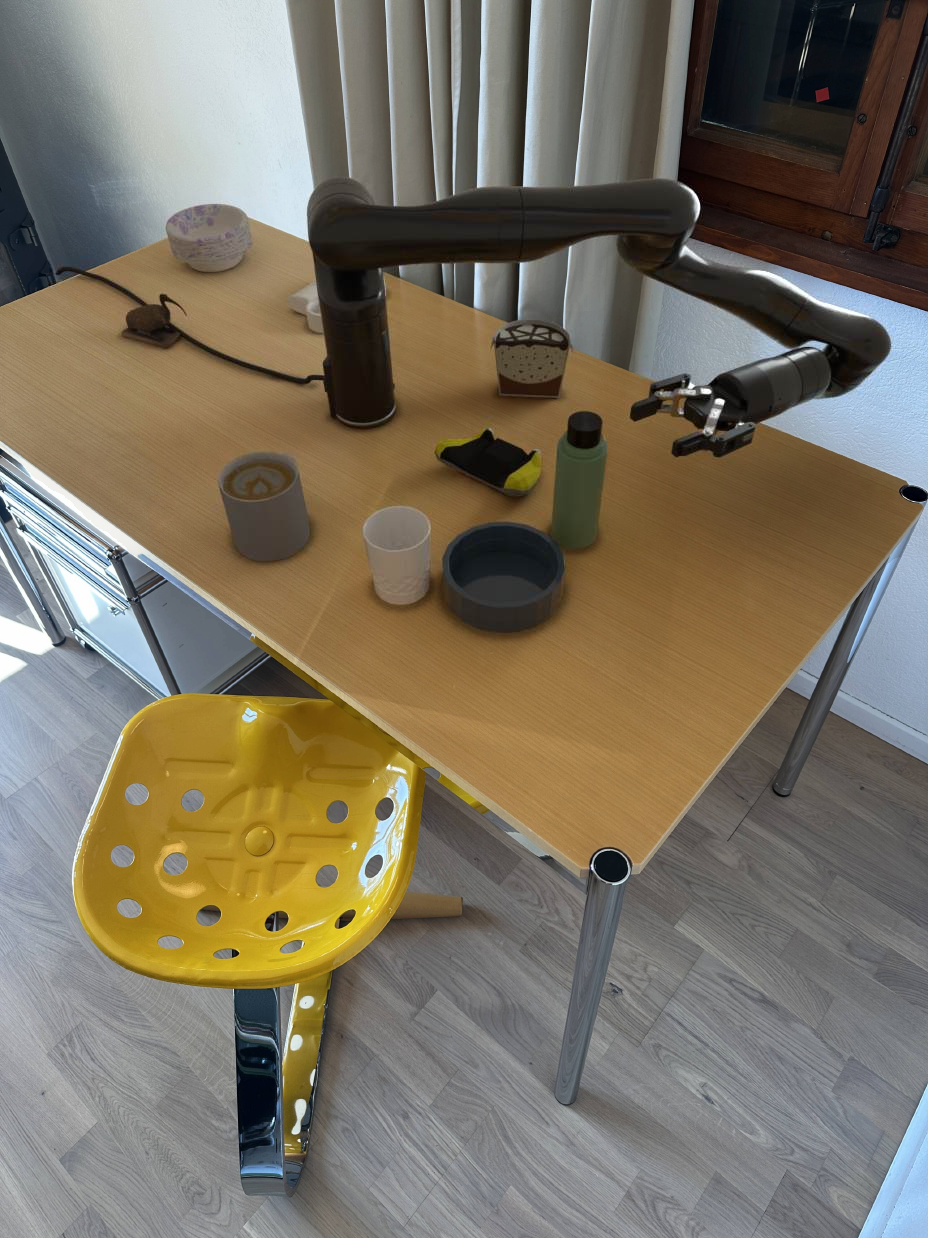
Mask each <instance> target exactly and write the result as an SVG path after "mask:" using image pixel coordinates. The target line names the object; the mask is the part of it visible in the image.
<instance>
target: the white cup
mask: <svg viewBox="0 0 928 1238" xmlns="http://www.w3.org/2000/svg"><path fill="white" fill-rule="evenodd" d="M431 528H432V527H431V522H430V519H429V518H428V516H427V515H426V514H425V513H423V512H422V511H420V510H419V509H416V508H414V507H411V506H405V505H393V506H387V507H384V508H383V507H382V508H381V509H378V510H377V511H375V512H373V513H371V514H370V515H369V516H368V517H367V519H365V521H364V523H363V525H362V536H363V541H364V545H365V551H366V556H367V562H368V565H369V570H370V574H371V577H372V580H373V585H374V591H375V593H376V594H377V595H378V597H379V598H380V600H381V601H384V602H387V603H388V604H391V605H399V606H404V605H409V604H412V603H416V602H418V601H419V600H421V599H422V598H424V597H425V596H426V594H427V592H428V591H429V589H430V573H431V561H432V560H431V559H432V558H431V557H432V552H431V551H432V548H431V547H432V546H431V545H432V543H431V542H432V541H431V540H432V539H431V535H432V533H431V532H432V531H431V530H432V529H431Z"/></svg>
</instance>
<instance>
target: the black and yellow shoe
mask: <svg viewBox="0 0 928 1238" xmlns="http://www.w3.org/2000/svg"><path fill="white" fill-rule="evenodd" d="M434 448H435V449H434V455H435V457H436V459H437V461H438V462H440V463H441V464H443V465H444V466H446V467H447V468H450V469H453V470H456V471H458V472H460V473H462V474H463V475H465V476H468V477H470V478H472V479H475V480H476V481H479V482H481V483H483V484H485V485H486V486H489V487H491V488H492V489H494V490H497V491H498V492H501V493H503V494H504V495H506V496H508V497H518V498H519V497H523V496H525V495H526V496H527V495H529V494H530V493H531V492H532V491H533V490H534V489H535V488H536V487H537V486H538V483H539V481H540V479H541V470H542V461H541V457H542V451H541V449H534V450H533V449H532V450H531V451H530V452H529V453H527V452H526V451H525V449H523V448H522V447H519V446H518V445H515V444H512V443H511V442H508V441H506V440H504V439H502V438H499V437H496V438H495V436H494V429H493V428H492V427H487V428H483V429H481V430H480V431H479V432H477V433H476V434H475V435H474V436H472V437H470V438H469V437H468V438H449V439H446V438H445V439H443V440H442V441H440V442H438V443H437V444H436V446H435V447H434Z"/></svg>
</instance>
